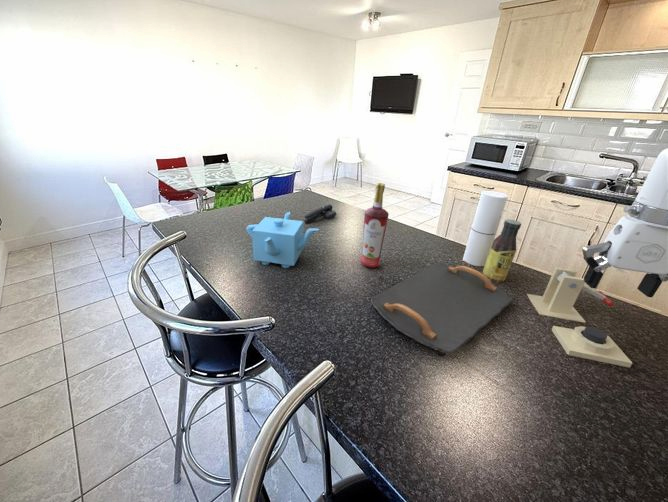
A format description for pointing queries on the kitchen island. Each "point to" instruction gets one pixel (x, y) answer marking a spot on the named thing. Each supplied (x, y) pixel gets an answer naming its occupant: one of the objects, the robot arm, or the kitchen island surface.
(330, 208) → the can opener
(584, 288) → the red tipped lever
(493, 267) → the sauce bottle
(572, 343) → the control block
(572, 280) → the cream upright bracket stand
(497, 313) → the serving tray
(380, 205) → the liquor
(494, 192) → the cylindrical container
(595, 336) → the dark round button
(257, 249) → the teakettle
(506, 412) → the kitchen island surface
